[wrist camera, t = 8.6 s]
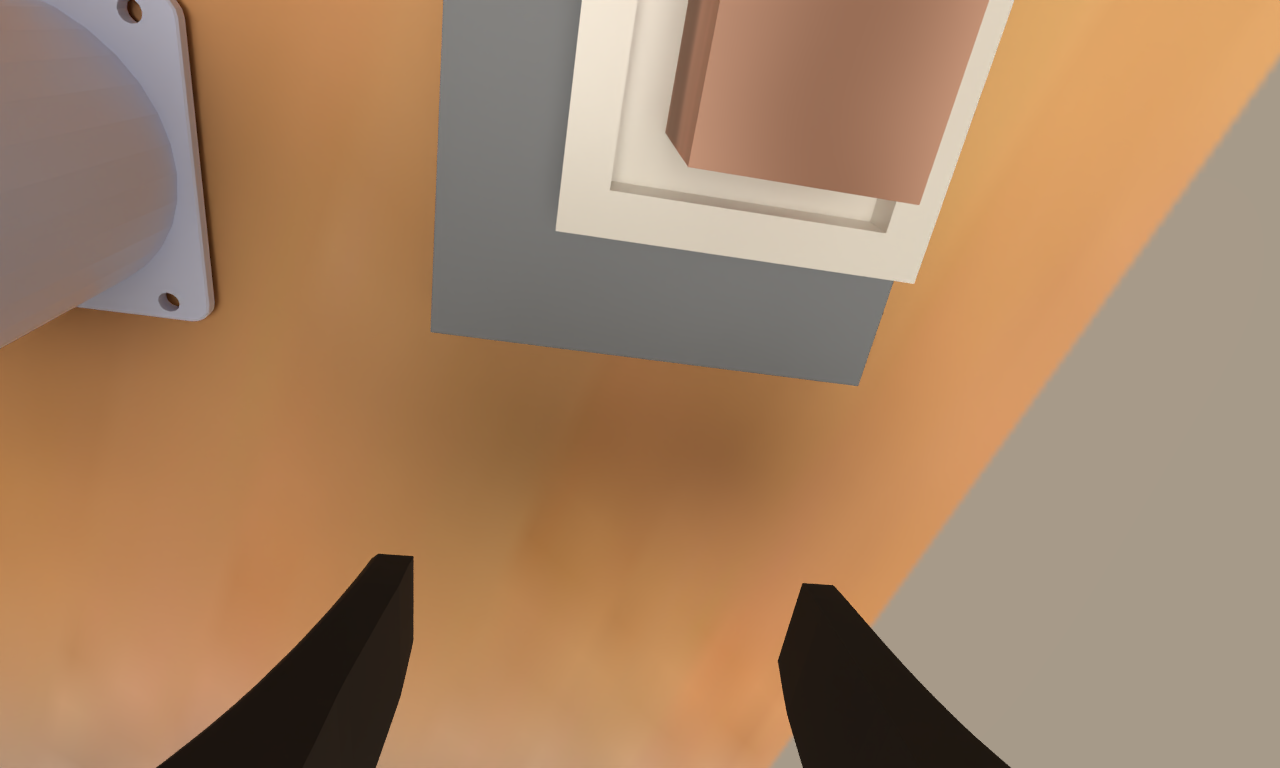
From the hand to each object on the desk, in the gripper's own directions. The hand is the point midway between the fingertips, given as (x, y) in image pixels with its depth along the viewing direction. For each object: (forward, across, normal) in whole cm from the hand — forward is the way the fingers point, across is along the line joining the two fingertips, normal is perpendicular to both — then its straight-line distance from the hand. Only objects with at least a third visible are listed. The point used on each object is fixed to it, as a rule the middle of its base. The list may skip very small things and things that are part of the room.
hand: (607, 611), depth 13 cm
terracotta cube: (+6, -2, -10) cm, 12 cm away
